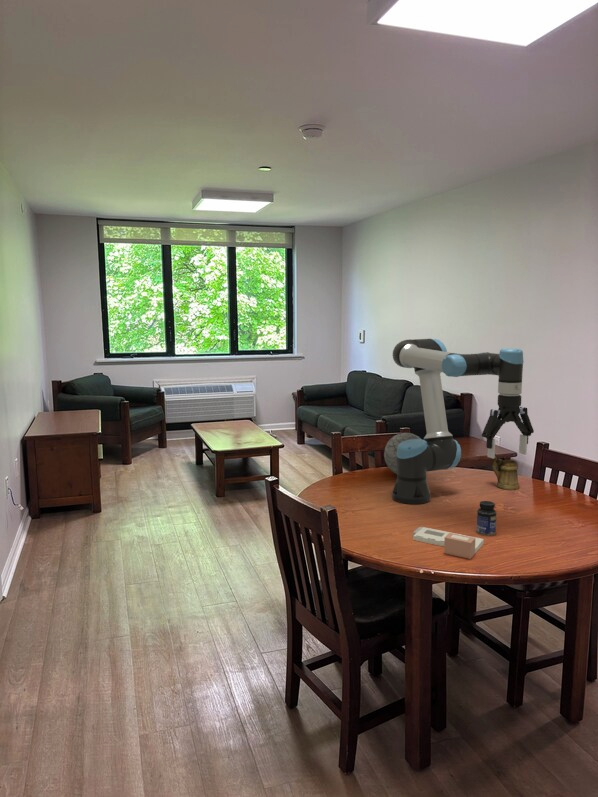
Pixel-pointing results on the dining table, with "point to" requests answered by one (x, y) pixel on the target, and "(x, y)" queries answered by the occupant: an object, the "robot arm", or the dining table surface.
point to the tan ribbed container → (506, 474)
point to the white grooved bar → (440, 537)
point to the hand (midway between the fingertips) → (507, 455)
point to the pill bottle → (486, 518)
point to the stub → (459, 545)
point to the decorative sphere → (395, 449)
